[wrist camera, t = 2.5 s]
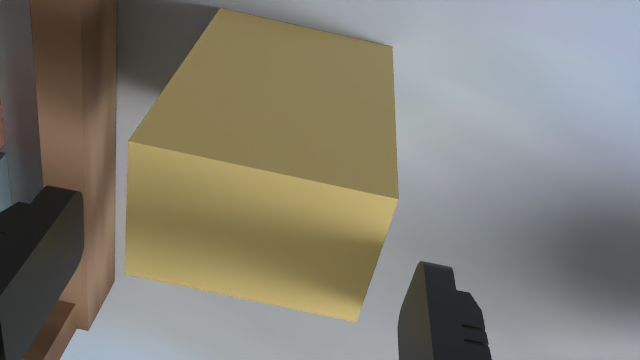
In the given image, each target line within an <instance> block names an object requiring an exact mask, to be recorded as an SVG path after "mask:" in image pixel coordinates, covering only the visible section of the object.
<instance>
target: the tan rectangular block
mask: <svg viewBox="0 0 640 360" xmlns="http://www.w3.org/2000/svg"><path fill="white" fill-rule="evenodd" d="M398 200H399V196H398V172H397V147H396V123H395V98H394V74H393V50H392V47H391V46H387V45H382V44H378V43H373V42H369V41H364V40H360V39H356V38H351V37H347V36H342V35H338V34H334V33H329V32H325V31H320V30H316V29H311V28H307V27H303V26H298V25H294V24H289V23H285V22H281V21H276V20H272V19H267V18H263V17H258V16H254V15H250V14H245V13H241V12H236V11H232V10H228V9H223V8H220V9H219V10H218V12H217V13H216V15H215V16H214V18H213V19H212V21H211V22H210V23H209V25H208V26H207V28H206V29H205V31H204V32H203V34H202V35H201V36H200V38H199V39H198V41H197V42H196V44H195V45H194V47H193V48H192V49H191V51H190V52H189V54H188V55H187V57H186V58H185V60H184V61H183V62H182V64H181V65H180V67H179V68H178V70H177V71H176V73H175V74H174V75H173V77H172V78H171V80H170V81H169V83H168V84H167V86H166V87H165V88H164V90H163V91H162V93H161V94H160V96H159V97H158V99H157V100H156V101H155V103H154V104H153V106H152V107H151V109H150V110H149V112H148V113H147V114H146V116H145V117H144V119H143V120H142V122H141V123H140V125H139V126H138V127H137V129H136V130H135V132H134V133H133V135H132V136H131V137H130V139H129V140H128V163H127V206H126V249H125V275H130V276H135V277H140V278H145V279H150V280H155V281H159V282H164V283H169V284H174V285H179V286H184V287H189V288H193V289H198V290H203V291H208V292H213V293H218V294H223V295H227V296H232V297H237V298H242V299H247V300H252V301H257V302H261V303H266V304H271V305H276V306H281V307H286V308H291V309H295V310H300V311H305V312H310V313H315V314H320V315H325V316H329V317H334V318H339V319H344V320H349V321H354V322H357V319H358V316H359V313H360V310H361V307H362V305H363V302H364V299H365V296H366V293H367V290H368V287H369V284H370V281H371V278H372V275H373V273H374V270H375V267H376V264H377V261H378V258H379V255H380V252H381V249H382V246H383V243H384V241H385V238H386V235H387V232H388V229H389V226H390V223H391V220H392V217H393V214H394V211H395V209H396V206H397V203H398Z"/></svg>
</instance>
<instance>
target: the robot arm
mask: <svg viewBox="0 0 640 360" xmlns="http://www.w3.org/2000/svg"><path fill="white" fill-rule="evenodd" d="M83 250H84V205H83V195H82V193H81V192H80V191H75V190H70V189H65V188H60V187H55V186H50V185H47V186H45V187H44V188H43V189H42V190H41V192H40V193H39V194H38V195H37V196H36V198H35V199H34V200H33V201H32V203H31V204H27V203H22V202H17V203H16V204H14V205H12V206H10V207H8V208H7V209H5V210H3V211H1V212H0V360H21V359H22V358H23V356H24V354H25V353H26V351H27V350H28V348H29V346H30V345H31V343H32V341H33V340H34V338H35V336H36V335H37V333H38V332H39V330H40V328H41V327H42V325H43V323H44V322H45V320H46V318H47V317H48V315H49V314H50V312H51V310H52V309H53V307H54V305H55V304H56V302H57V301H58V299H59V297H60V296H61V294H62V292H63V291H64V289H65V287H66V286H67V284H68V283H69V281H70V279H71V278H72V276H73V274H74V273H75V271H76V269H77V268H78V266H79V263H80V261H81V258H82V255H83ZM398 348H399V360H492V359H491V354H490V349H489V347H488V339H487V334H486V332H485V325H484V320H483V315H482V310H481V309H480V308H479V306H478V305H477V303H476V302H475V300H474V299H473V297H472V296H471V294H470V293H468V292H463V291H458V290H456V286H455V280H454V274H453V270H452V268H451V267H448V266H443V265H438V264H433V263H428V262H423V261H420V262H419V263H418V265H417V267H416V270H415V273H414V275H413V278H412V280H411V283H410V286H409V288H408V291H407V294H406V296H405V299H404V301H403V304H402V307H401V310H400V315H399V321H398Z"/></svg>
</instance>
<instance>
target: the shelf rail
mask: <svg viewBox="0 0 640 360" xmlns="http://www.w3.org/2000/svg"><path fill="white" fill-rule="evenodd" d="M30 14H31V27H32V41H33V55H34V68H35V82H36V95H37V109H38V123H39V136H40V150H41V163H42V177H43V188H44V187H45V186H47V185H50V186H55V187H60V188H65V189H70V190H75V191H80V192H81V193H82V195H83V205H84V250H83V255H82V258H81V261H80V263H79V266H78V268H77V269H76V271H75V273H74V274H73V276H72V278H71V279H70V281H69V283H68V284H67V286H66V287H65V289H64V291H63V292H62V294H61V296H60V297H59V299H58V301H57V302H56V304H55V305H54V307H53V309H52V310H51V312H50V314H49V315H48V317H47V318H46V320H45V322H44V323H43V325H42V327H41V328H40V330H39V332H38V333H37V335H36V336H35V338H34V340H33V341H32V343H31V345H30V346H29V348H28V350H27V351H26V353H25V354H24V356H23V358H22V359H21V360H60V358H61V356H62V354H63V352H64V351H65V349H66V347H67V345H68V343H69V342H70V340H71V338H72V336H73V334H74V333H75V331H76V329H82V330H87V331H89V329H90V327H91V325H92V323H93V321H94V319H95V317H96V316H97V314H98V312H99V310H100V308H101V306H102V304H103V302H104V300H105V299H106V297H107V295H108V293H109V291H110V289H111V287H112V285H113V283H114V270H115V171H116V72H117V0H30Z"/></svg>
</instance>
